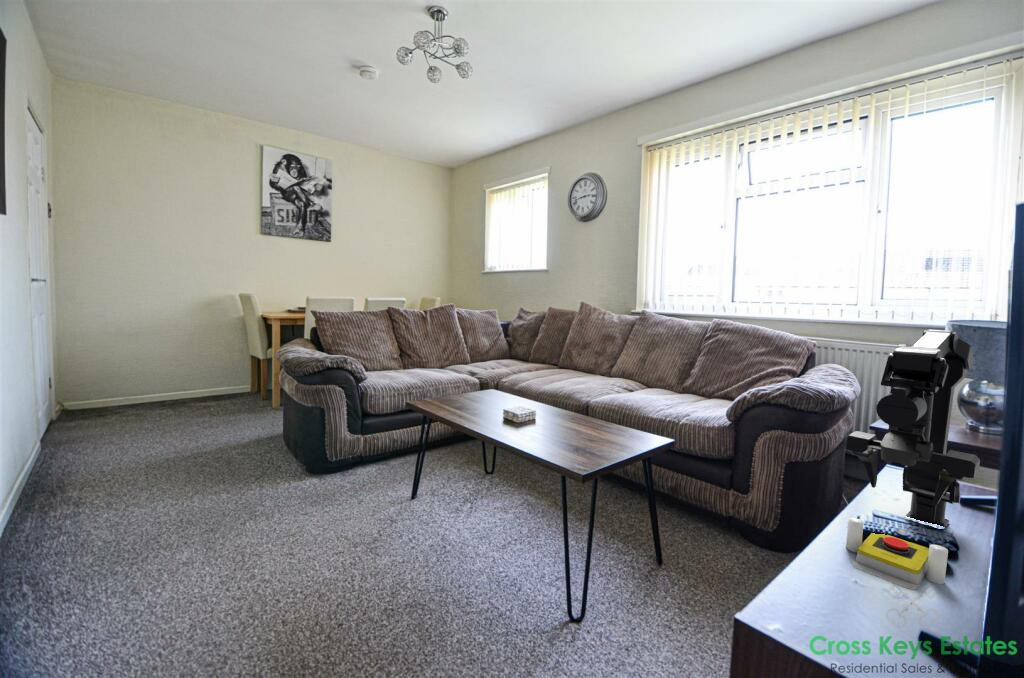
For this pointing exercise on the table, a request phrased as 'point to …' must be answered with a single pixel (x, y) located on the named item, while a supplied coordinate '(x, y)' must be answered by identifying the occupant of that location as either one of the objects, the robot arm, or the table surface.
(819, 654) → the table surface
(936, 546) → the post
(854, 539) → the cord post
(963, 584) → the table surface
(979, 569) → the table surface
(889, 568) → the emergency button
